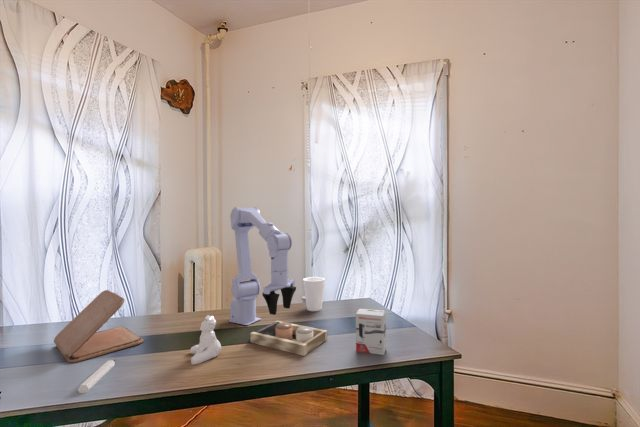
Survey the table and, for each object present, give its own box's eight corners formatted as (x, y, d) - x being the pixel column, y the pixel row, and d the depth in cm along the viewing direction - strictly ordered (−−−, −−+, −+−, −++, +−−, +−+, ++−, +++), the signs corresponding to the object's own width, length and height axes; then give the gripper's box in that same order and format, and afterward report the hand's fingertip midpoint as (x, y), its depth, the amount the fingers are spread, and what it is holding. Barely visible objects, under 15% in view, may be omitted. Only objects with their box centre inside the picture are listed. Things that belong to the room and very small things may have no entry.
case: (52, 347, 106) (51, 297, 106) (125, 329, 121) (124, 285, 121) (65, 367, 92) (64, 310, 92) (146, 344, 107) (145, 295, 107)
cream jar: (292, 346, 104) (292, 330, 104) (302, 340, 109) (302, 325, 109) (307, 349, 101) (307, 333, 101) (316, 343, 106) (316, 327, 106)
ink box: (355, 352, 99) (355, 312, 99) (358, 345, 104) (358, 308, 104) (384, 355, 97) (384, 315, 97) (386, 348, 101) (385, 310, 101)
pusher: (250, 339, 110) (250, 329, 110) (270, 329, 119) (270, 319, 119) (260, 341, 108) (260, 331, 108) (279, 331, 117) (279, 321, 117)
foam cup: (301, 311, 139) (300, 281, 139) (305, 305, 148) (305, 276, 148) (323, 312, 138) (323, 281, 138) (326, 306, 147) (326, 277, 147)
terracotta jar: (272, 341, 108) (271, 325, 108) (283, 335, 113) (283, 321, 113) (285, 344, 105) (284, 329, 105) (295, 339, 110) (295, 323, 110)
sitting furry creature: (190, 352, 100) (189, 313, 100) (219, 347, 104) (219, 309, 104) (191, 365, 92) (190, 322, 91) (223, 360, 95) (222, 318, 95)
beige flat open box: (250, 342, 107) (250, 333, 107) (277, 328, 119) (277, 320, 119) (304, 355, 97) (304, 345, 97) (327, 339, 109) (327, 330, 109)
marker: (116, 365, 94) (84, 396, 78) (109, 362, 94) (76, 392, 78) (120, 357, 94) (90, 386, 79) (114, 354, 94) (82, 382, 78)
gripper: (275, 275, 102) (276, 319, 102) (301, 267, 114) (302, 307, 114) (258, 273, 105) (258, 315, 105) (285, 266, 118) (285, 304, 118)
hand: (279, 311), depth 110 cm, fingers open, 7 cm apart
